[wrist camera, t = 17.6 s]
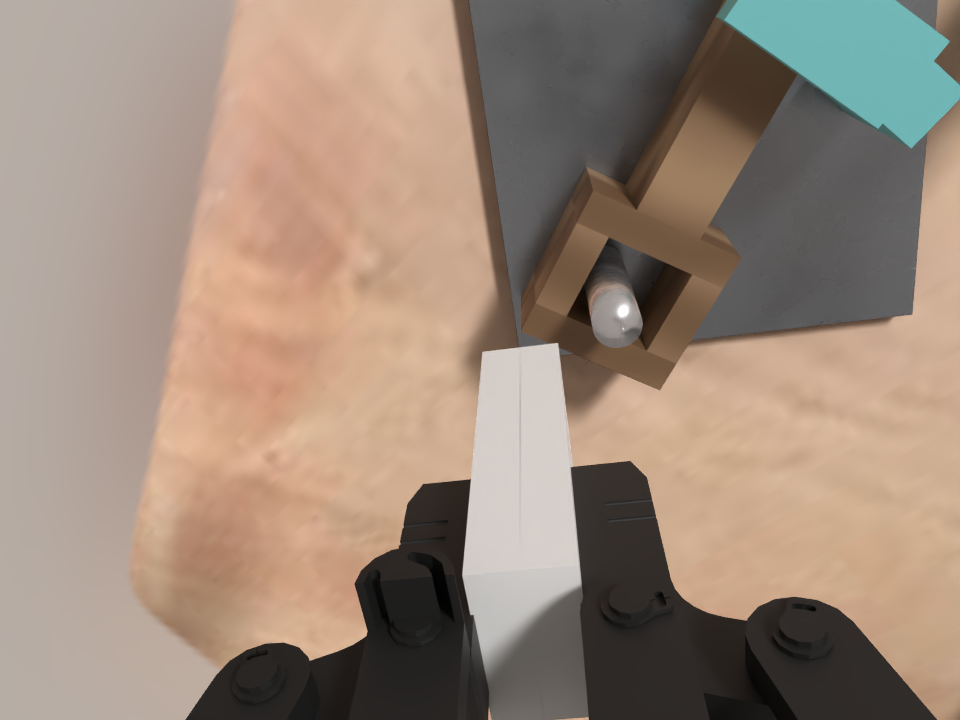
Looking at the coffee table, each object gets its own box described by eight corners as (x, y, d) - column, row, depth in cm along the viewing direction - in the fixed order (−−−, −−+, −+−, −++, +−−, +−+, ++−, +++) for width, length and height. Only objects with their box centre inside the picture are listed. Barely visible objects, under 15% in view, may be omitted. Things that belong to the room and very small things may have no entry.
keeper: (842, 115, 38) (913, 154, 31) (685, 4, 36) (724, 19, 29) (899, 44, 36) (986, 68, 29) (738, -75, 35) (791, -78, 28)
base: (903, 306, 42) (983, 382, 34) (520, 351, 44) (521, 432, 36) (937, -135, 33) (1051, -155, 26) (462, -54, 35) (447, -53, 28)
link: (647, 351, 42) (659, 390, 39) (520, 297, 41) (521, 331, 38) (869, -19, 34) (910, -14, 31) (719, -98, 33) (743, -102, 30)
